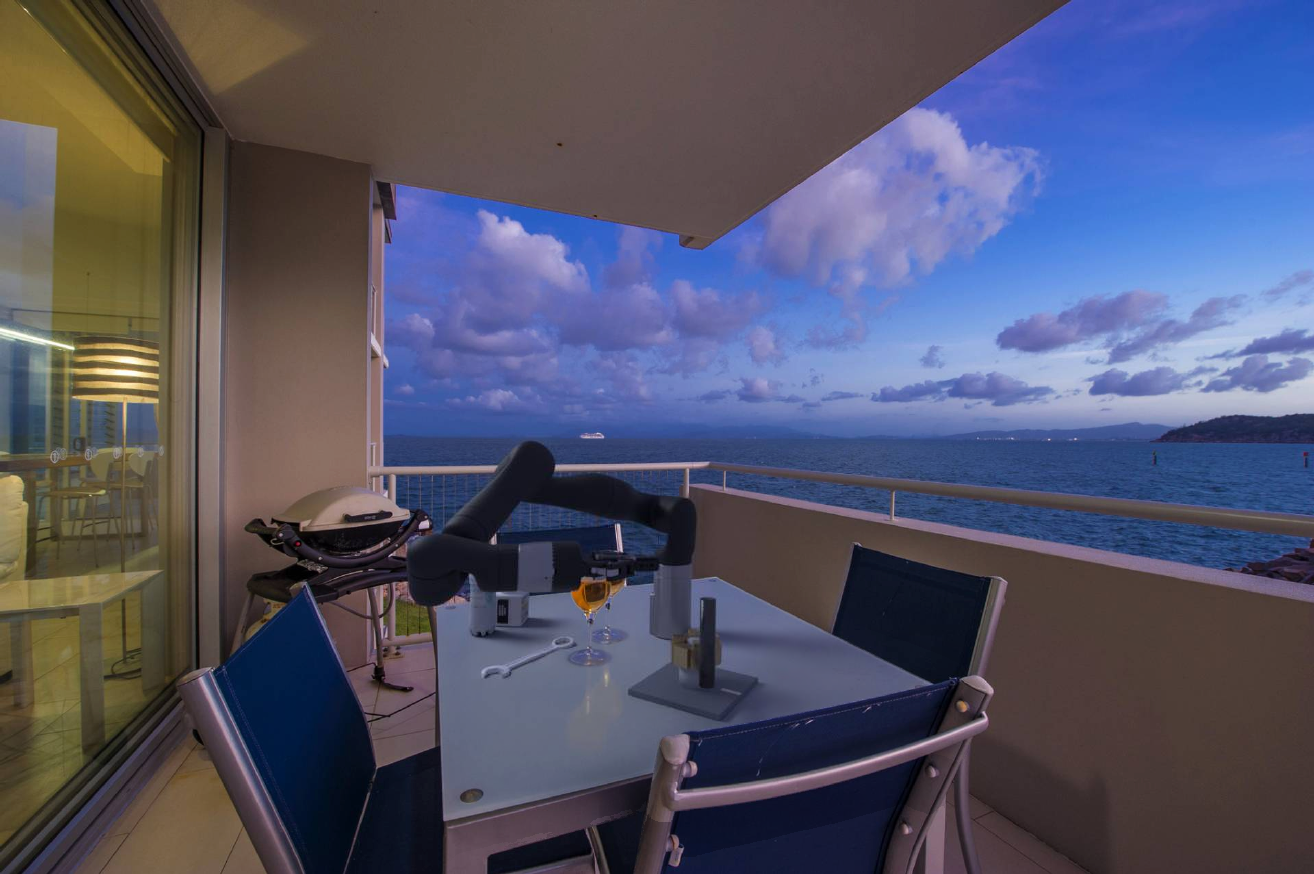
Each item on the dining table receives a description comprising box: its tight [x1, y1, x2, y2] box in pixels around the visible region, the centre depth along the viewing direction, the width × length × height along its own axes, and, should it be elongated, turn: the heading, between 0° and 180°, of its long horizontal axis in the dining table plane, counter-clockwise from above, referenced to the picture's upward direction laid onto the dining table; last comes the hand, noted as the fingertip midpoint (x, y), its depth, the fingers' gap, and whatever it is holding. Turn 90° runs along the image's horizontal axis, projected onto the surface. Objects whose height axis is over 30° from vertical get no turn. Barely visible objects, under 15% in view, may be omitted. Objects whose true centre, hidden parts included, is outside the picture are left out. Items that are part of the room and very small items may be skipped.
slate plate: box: [627, 637, 759, 722], centre depth 103 cm, size 18×18×9 cm
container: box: [496, 590, 530, 627], centre depth 142 cm, size 8×8×13 cm
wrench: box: [480, 636, 575, 679], centre depth 117 cm, size 25×5×2 cm, turn 149°
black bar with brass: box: [669, 596, 722, 690], centre depth 99 cm, size 19×9×15 cm, turn 4°
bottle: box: [468, 574, 497, 637], centre depth 133 cm, size 7×7×20 cm
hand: (658, 563), depth 89 cm, fingers closed
